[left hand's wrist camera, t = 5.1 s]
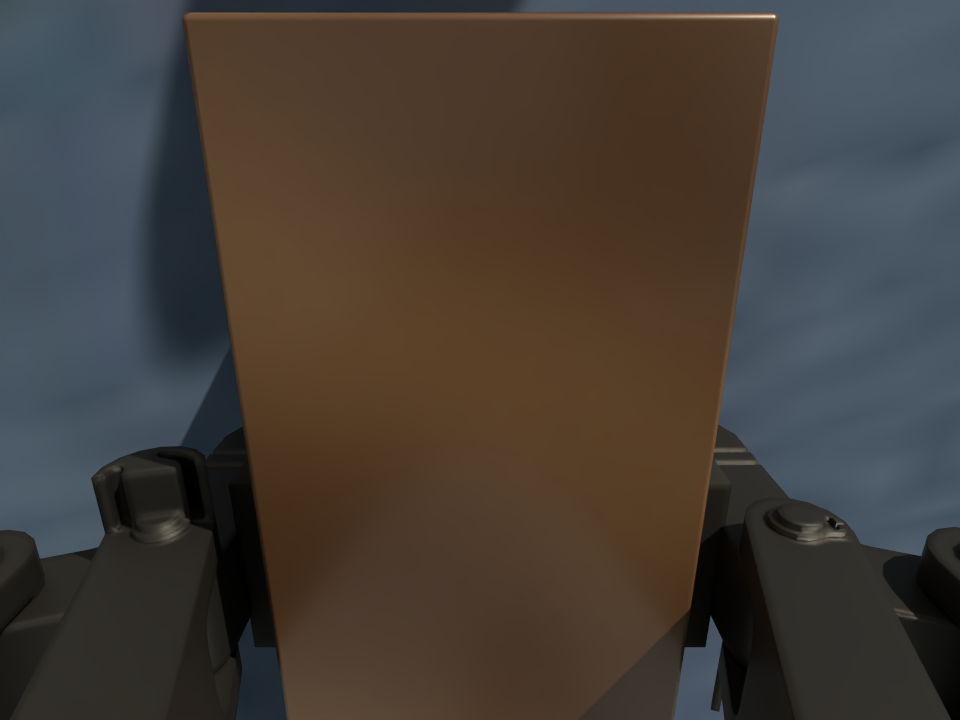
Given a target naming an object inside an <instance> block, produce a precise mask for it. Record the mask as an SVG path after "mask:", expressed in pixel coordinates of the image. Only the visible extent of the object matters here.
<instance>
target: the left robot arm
mask: <svg viewBox="0 0 960 720" xmlns="http://www.w3.org/2000/svg"><path fill="white" fill-rule="evenodd" d="M91 479H92V483H93V487H94V491H95V495H96V499H97V503H98V507H99V511H100V515H101V519H102V523H103V527H104V530H105V536H104V538H103V540H102V542H101V544H100V545H99V547H97V548H93V549H89V550H85V551H79V552H74V553H69V554H64V555H58V556H53V557H48V558H43V559H40V557H39V554H38V551H37V547H36V544H35V541H34V538H32V537H31V536H29V535H28V534H27V533H25V532H20V531H13V530H2V531H0V720H236V713H237V705H238V697H239V689H240V681H241V674H242V665H241V658H240V652H239V647H238V641H239V639H240V637H241V635H242V633H243V631H244V629H245V627H246V625H247V623H248V621H249V618H250V619H251V625H252V631H253V637H254V643H255V647H276V644H275V637H274V630H273V624H272V617H271V610H270V603H269V597H268V590H267V583H266V577H265V570H264V563H263V557H262V550H261V543H260V537H259V530H258V523H257V516H256V510H255V503H254V496H253V490H252V483H251V476H250V470H249V463H248V456H247V450H246V443H245V436H244V429H243V427H241V428H239V429H238V430H236V431H234V432H233V433H231V434H229V435H227V436H226V437H225V438H224V439H223V440H222V442H221V443H220V444H219V445H218V446H217V448H216V449H215V450H214V451H213V454H211V455H210V456H209V457H208V458H207V459H206V460H205V455H203V454H202V453H200V452H199V451H197V450H196V449H192V448H186V447H181V446H175V447H158V448H153V449H147V450H142V451H138V452H135V453H132V454H129V455H127V456H124V457H121V458H118V459H117V460H115V461H113V462H111V463H109V464H107V465H106V466H104V467H102V468H101V469H100V470H99V471H98V472H97V473H96V474H95V475H94V476H93V477H92V478H91ZM710 616H711V617H712V619H713V621H714V623H715V625H716V627H717V629H718V631H719V633H720V635H721V637H722V639H723V641H722V647H721V652H720V658H719V664H718V669H717V675H716V681H715V686H714V692H713V698H712V705H711V710H714V711H719V710H720V704H721V699H722V703H723V711H724V719H725V720H960V528H957V527H951V528H943V529H936V530H935V531H934V532H932V533H931V534H929V535H928V536H927V539H926V543H925V546H924V549H923V552H922V556H917V555H911V554H906V553H901V552H896V551H890V550H885V549H880V548H875V547H870V546H866V545H862V544H860V542H859V540H858V539H857V537H856V535H855V533H854V532H853V531H852V529H851V528H850V527H849V526H848V525H847V524H846V522H845V521H843V520H842V519H840V518H839V517H837V516H836V515H834V514H833V513H831V512H830V511H828V510H825V509H823V508H820V507H818V506H816V505H813V504H811V503H808V502H803V501H799V500H794V499H790V498H789V497H788V496H787V495H786V494H785V493H784V491H783V490H782V489H781V488H780V487H779V486H778V484H777V483H776V482H775V481H774V480H773V479H772V477H771V476H770V475H769V474H768V473H767V471H766V470H765V469H764V468H763V467H762V466H761V465H758V461H757V460H756V459H755V457H754V456H753V455H752V454H751V453H750V452H748V449H747V448H746V447H745V446H744V444H743V443H742V442H741V441H740V440H739V439H738V437H737V436H736V435H735V434H733V433H732V432H730V431H728V430H726V429H725V428H723V427H721V426H720V425H718V428H717V435H716V441H715V448H714V455H713V461H712V468H711V475H710V481H709V488H708V495H707V501H706V508H705V515H704V521H703V528H702V535H701V541H700V548H699V555H698V561H697V568H696V575H695V581H694V588H693V595H692V601H691V608H690V615H689V621H688V628H687V635H686V641H685V647H705V646H706V640H707V634H708V628H709V622H710Z"/></svg>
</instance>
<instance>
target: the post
mask: <svg viewBox="0 0 960 720" xmlns="http://www.w3.org/2000/svg"><path fill="white" fill-rule="evenodd" d="M778 22H779V21H778V16H777V15H775V14H773V13H771V12H190V13H188V14H186V15H184V16H183V28H184V35H185V41H186V48H187V55H188V61H189V68H190V75H191V81H192V88H193V95H194V102H195V108H196V115H197V122H198V128H199V135H200V142H201V148H202V155H203V162H204V168H205V175H206V182H207V189H208V195H209V202H210V209H211V215H212V222H213V229H214V235H215V242H216V249H217V255H218V262H219V269H220V276H221V282H222V289H223V296H224V302H225V309H226V316H227V322H228V329H229V336H230V342H231V349H232V356H233V363H234V369H235V376H236V383H237V389H238V396H239V403H240V409H241V416H242V423H243V429H244V436H245V443H246V450H247V456H248V463H249V470H250V476H251V483H252V490H253V496H254V503H255V510H256V516H257V523H258V530H259V537H260V543H261V550H262V557H263V563H264V570H265V577H266V583H267V590H268V597H269V603H270V610H271V617H272V624H273V630H274V637H275V644H276V650H277V657H278V664H279V670H280V677H281V684H282V690H283V697H284V704H285V711H286V717H287V720H674V714H675V708H676V701H677V695H678V688H679V681H680V675H681V668H682V661H683V655H684V648H685V641H686V635H687V628H688V621H689V615H690V608H691V601H692V595H693V588H694V581H695V575H696V568H697V561H698V555H699V548H700V541H701V535H702V528H703V521H704V515H705V508H706V501H707V495H708V488H709V481H710V475H711V468H712V461H713V455H714V448H715V441H716V435H717V428H718V421H719V415H720V408H721V402H722V395H723V388H724V382H725V375H726V368H727V362H728V355H729V348H730V342H731V335H732V328H733V322H734V315H735V308H736V302H737V295H738V288H739V282H740V275H741V268H742V262H743V255H744V248H745V242H746V235H747V228H748V222H749V215H750V208H751V202H752V195H753V188H754V182H755V175H756V168H757V162H758V155H759V148H760V142H761V135H762V128H763V122H764V115H765V109H766V102H767V95H768V89H769V82H770V75H771V69H772V62H773V55H774V49H775V42H776V35H777V29H778Z"/></svg>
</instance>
